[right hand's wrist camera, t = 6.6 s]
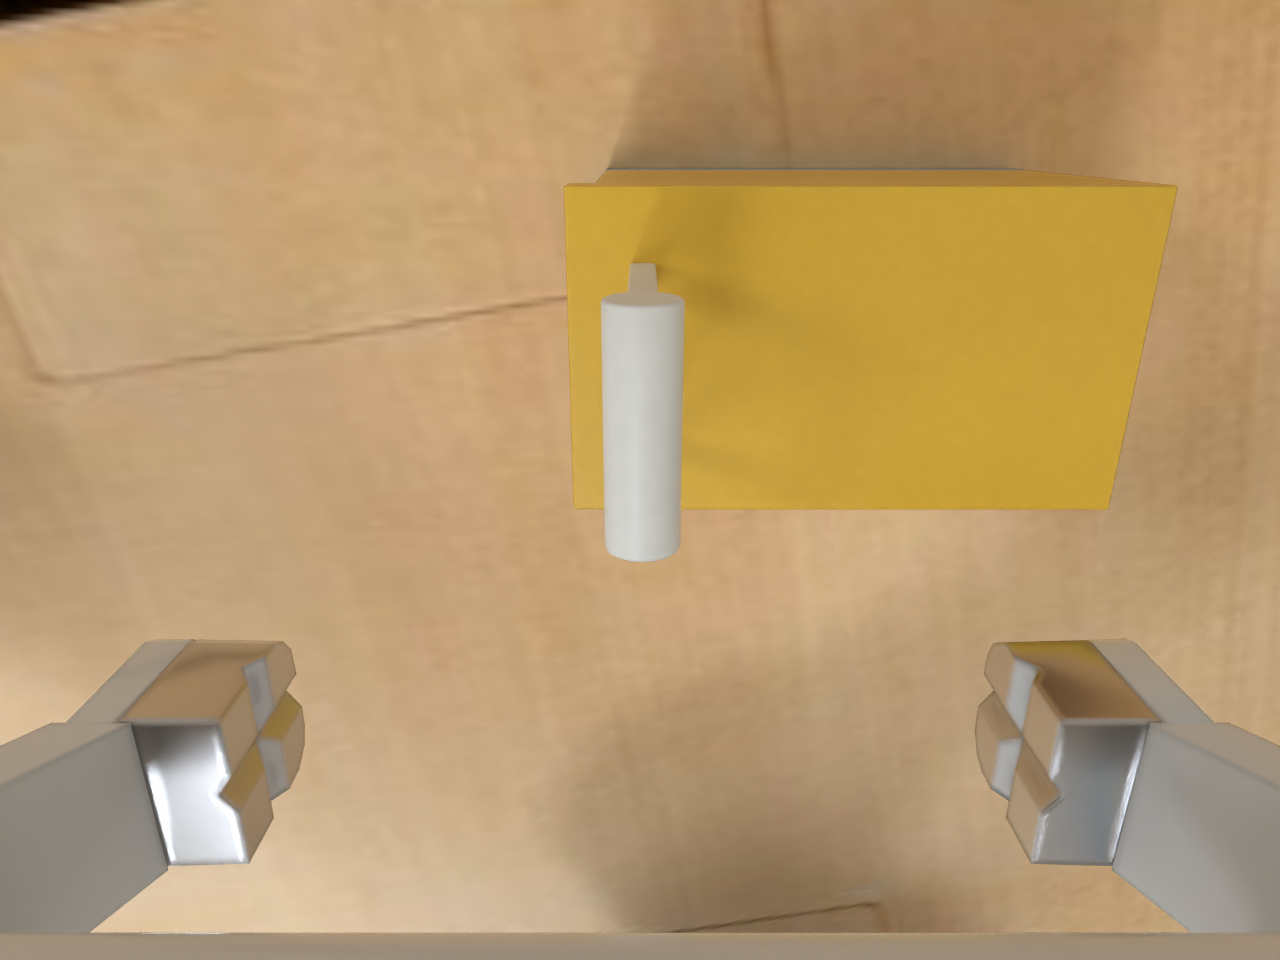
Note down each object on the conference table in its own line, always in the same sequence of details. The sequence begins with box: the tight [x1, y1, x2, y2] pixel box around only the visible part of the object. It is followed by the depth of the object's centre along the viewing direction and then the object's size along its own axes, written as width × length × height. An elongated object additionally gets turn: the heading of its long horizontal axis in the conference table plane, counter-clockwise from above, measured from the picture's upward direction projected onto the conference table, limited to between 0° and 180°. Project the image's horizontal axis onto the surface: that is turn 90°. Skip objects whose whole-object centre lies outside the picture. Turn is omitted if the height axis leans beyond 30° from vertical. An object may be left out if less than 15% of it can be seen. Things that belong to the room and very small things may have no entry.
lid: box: [564, 183, 1178, 562], centre depth 22 cm, size 16×9×8 cm, turn 90°
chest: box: [596, 168, 1147, 183], centre depth 31 cm, size 16×9×10 cm, turn 90°
